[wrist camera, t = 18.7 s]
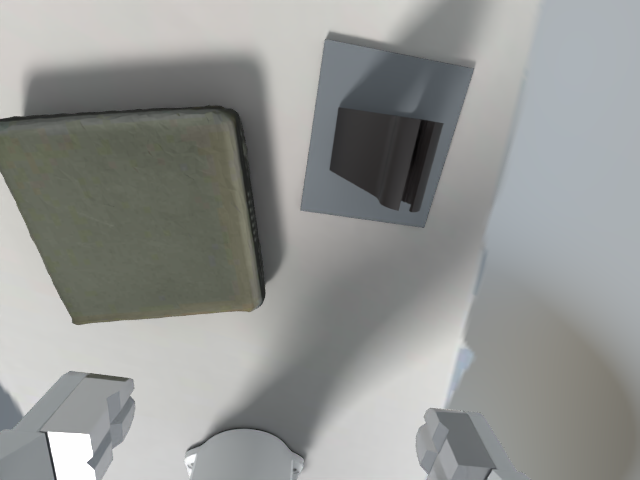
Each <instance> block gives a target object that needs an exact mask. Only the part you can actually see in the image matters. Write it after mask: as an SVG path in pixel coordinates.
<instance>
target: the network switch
mask: <svg viewBox="0 0 640 480" xmlns="http://www.w3.org/2000/svg"><path fill="white" fill-rule="evenodd" d="M0 172H1V174H2V175H3V177H4V179H5V182H6V184H7V186H8V188H9V190H10V192H11V194H12V196H13V197H14V199H15V201H16V203H17V206H18V209H19V211H20V213H21V215H22V217H23V219H24V221H25V223H26V225H27V228H28V230H29V233H30V236H31V238H32V240H33V241H34V243H35V245H36V246H37V249H38V251H39V253H40V255H41V257H42V259H43V262H44V264H45V267H46V269H47V271H48V273H49V275H50V277H51V279H52V281H53V284H54V286H55V288H56V290H57V292H58V294H59V296H60V298H61V300H62V301H63V303H64V305H65V307H66V308H67V310H68V312H69V314H70V316H71V317H72V323H74V324H76V325H82V324H88V323H98V322H111V321H119V320H137V319H151V318H163V317H172V316H186V315H195V314H208V313H219V312H232V311H247V312H251V311H253V310H255V309H256V308H258V307H259V306H261V305H262V303H263V301H264V298H265V281H264V271H263V263H262V255H261V250H260V243H259V238H258V231H257V223H256V217H255V210H254V203H253V196H252V189H251V182H250V171H249V164H248V161H247V147H246V144H245V137H244V132H243V128H242V123H241V120H240V117H239V115H238V113H237V112H236V111H234V110H233V109H225V108H223V107H222V106H205V107H188V108H159V109H147V110H142V109H137V110H127V111H106V112H88V113H76V114H56V115H32V116H27V117H20V116H14V117H10V118H4V119H0Z"/></svg>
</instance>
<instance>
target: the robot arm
mask: <svg viewBox="0 0 640 480" xmlns="http://www.w3.org/2000/svg"><path fill="white" fill-rule="evenodd" d="M133 390H134V381H133V379H131V378H124V377H116V376H108V375H101V374H93V373H83V372H74V371H69V372H68V373H66V374H64V375H63V376H61V377H60V379H59V380H58V381H57V382H56V383H55V384H54V385H53V386H52V387H51V388H50V389H49V390H48V391H47V392H46V394H45V395H44V396H43V397H42V398H41V399H40V400H39V401H38V402H37V403H36V404H35V405H34V406H33V407H32V409H31V410H30V411H29V412H28V413H27V414H26V415H25V416H24V417H23V418H22V419H21V420H20V421H19V423H18V424H17V425H16V426H15V427H14V428H13V429H12V430H3V431H1V432H0V480H102V478H103V476H104V474H105V473H106V471H107V469H108V467H109V466H110V464H111V462H112V460H113V453H112V449H113V448H114V447H116V446H117V445H119V444H120V443H121V442H123V440H124V439H125V437H126V435H127V433H128V431H129V429H130V426H131V424H132V421H133V418H134V413H135V401H134V400H133V399H132V398H131V396H130V395H131V393H132V392H133ZM424 419H425V422H426V423H425V424H424V425H422V426H421V427H420V428H419V430H418V432H417V435H416V452H417V457H418V460H419V464H420V466H421V467H422V468H423V469H424V470H425V471H426V472H427V474H428V476H427V480H531V479H530V478H529V477H528V476H526V475H525V474H524V473H523V472H520V471H517V470H516V469H515V467H514V465H513V464H512V462H511V460H510V459H509V457H508V455H507V454H506V452H505V450H504V448H503V447H502V445H501V443H500V442H499V440H498V438H497V437H496V435H495V433H494V431H493V430H492V428H491V426H490V425H489V423H488V421H487V420H486V418H485V417H484V415H482V414H481V413H480V412H469V411H461V410H450V409H438V408H429V409H428V410H427V411H426V413H425V415H424ZM184 462H185V465H186V468H187V471H188V474H189V477H190V479H189V480H297V478H298V476H299V474H300V472H301V471H302V469H303V465H304V459H303V458H302V457H301V456H299V455H297V454H295V453H293V452H292V451H290V450H289V448H288V447H287V446H286V445H285V444H284V442H282V441H281V440H280V439H279V438H277V437H275V436H273V435H271V434H269V433H266V432H263V431H259V430H253V429H235V430H229V431H225V432H222V433H219V434H217V435H215V436H213V437H212V438H210V439H209V440H208V441H207V442H205V443H204V444H203V445H201V446H199V447H196V448H194V449H191V450H189V451H187V452H186V454H185V458H184Z"/></svg>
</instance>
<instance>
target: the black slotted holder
mask: <svg viewBox="0 0 640 480" xmlns="http://www.w3.org/2000/svg"><path fill="white" fill-rule="evenodd" d="M443 124H444V123H440V122H434V121H429V120H423V119H416V118H409V117H402V116H395V115H388V114H382V113H375V112H368V111H361V110H354V109H348V108H341V107H338V114H337V121H336V128H335V134H334V141H333V148H332V155H331V162H330V169H329V170H330V171H332V172H333V173H335V174H337V175H339V176H340V177H342V178H344V179H346V180H347V181H349V182H351V183H353V184H354V185H356V186H358V187H359V188H361V189H363V190H365V191H366V192H368V193H370V194H372V195H373V196H375V197H376V198H377V199H378V200H379V203H380V204H381V205H383V206H385V207H387V208H390V209H393V210H397V211H399V207H400V203H401V201H403V202H406V203H408V204H411V206H410V209H409V211H410V212H418V211H420V208H421V205H422V201H423V197H424V194H425V190H426V186H427V183H428V179H429V175H430V172H431V168H432V164H433V161H434V157H435V153H436V150H437V146H438V142H439V139H440V135H441V131H442V128H443Z"/></svg>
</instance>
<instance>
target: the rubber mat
mask: <svg viewBox="0 0 640 480" xmlns="http://www.w3.org/2000/svg"><path fill="white" fill-rule="evenodd" d="M473 70H474V69H473V68H468V67H463V66H458V65H453V64H448V63H443V62H438V61H433V60H428V59H423V58H418V57H413V56H408V55H403V54H398V53H393V52H388V51H383V50H378V49H373V48H368V47H363V46H358V45H353V44H348V43H343V42H338V41H333V40H328V39H325V43H324V50H323V57H322V64H321V71H320V78H319V84H318V91H317V98H316V105H315V112H314V119H313V126H312V133H311V140H310V147H309V154H308V161H307V168H306V175H305V181H304V188H303V195H302V202H301V211H308V212H315V213H323V214H330V215H337V216H344V217H351V218H358V219H365V220H372V221H379V222H387V223H394V224H401V225H408V226H415V227H422V228H424V226H425V223H426V220H427V217H428V213H429V210H430V207H431V204H432V201H433V198H434V194H435V191H436V188H437V185H438V182H439V178H440V175H441V172H442V169H443V166H444V163H445V159H446V156H447V153H448V150H449V147H450V143H451V140H452V137H453V134H454V131H455V128H456V124H457V121H458V118H459V115H460V112H461V108H462V105H463V102H464V99H465V96H466V93H467V89H468V86H469V83H470V80H471V77H472V74H473ZM338 107H341V108H348V109H354V110H361V111H368V112H375V113H382V114H388V115H395V116H402V117H409V118H416V119H423V120H429V121H434V122H440V123H444V124H443V128H442V131H441V135H440V139H439V142H438V146H437V150H436V153H435V157H434V161H433V164H432V168H431V172H430V175H429V179H428V183H427V186H426V190H425V194H424V197H423V201H422V205H421V208H420V211H418V212H410V211H409V209H410V206H411V204H408V203H406V202H403V201H401V203H400V207H399V211H397V210H393V209H390V208H387V207H385V206H383V205H381V204H380V203H379V200H378V199H377V198H376V197H375V196H373V195H372V194H370V193H368V192H366V191H365V190H363V189H361V188H359V187H358V186H356V185H354V184H353V183H351V182H349V181H347V180H346V179H344V178H342V177H340V176H339V175H337V174H335V173H333V172H332V171H330V170H329V169H330V162H331V155H332V148H333V141H334V134H335V128H336V121H337V114H338Z"/></svg>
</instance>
